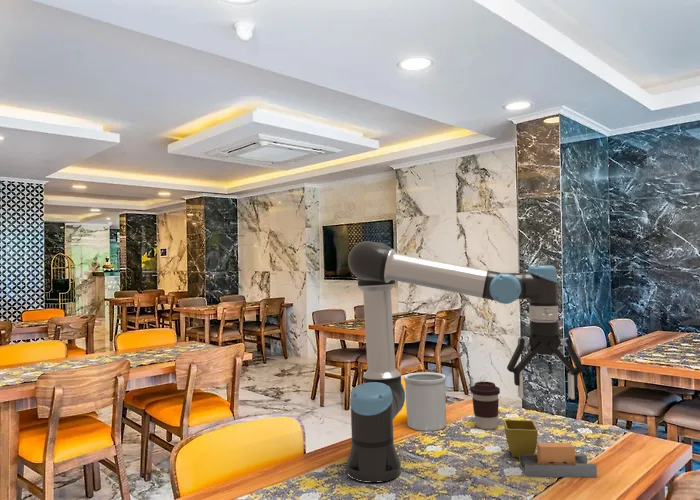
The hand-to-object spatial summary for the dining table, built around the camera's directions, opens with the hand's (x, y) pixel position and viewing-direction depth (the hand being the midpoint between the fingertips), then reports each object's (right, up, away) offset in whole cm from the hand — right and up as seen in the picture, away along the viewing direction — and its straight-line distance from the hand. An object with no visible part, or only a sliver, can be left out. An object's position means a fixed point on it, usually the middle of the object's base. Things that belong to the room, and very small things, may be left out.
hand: (545, 397), depth 137 cm
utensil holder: (-27, -22, +40) cm, 53 cm away
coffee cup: (-6, -21, +36) cm, 42 cm away
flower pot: (-3, -20, +10) cm, 23 cm away
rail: (+2, -19, -2) cm, 20 cm away
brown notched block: (+2, -19, -2) cm, 20 cm away
